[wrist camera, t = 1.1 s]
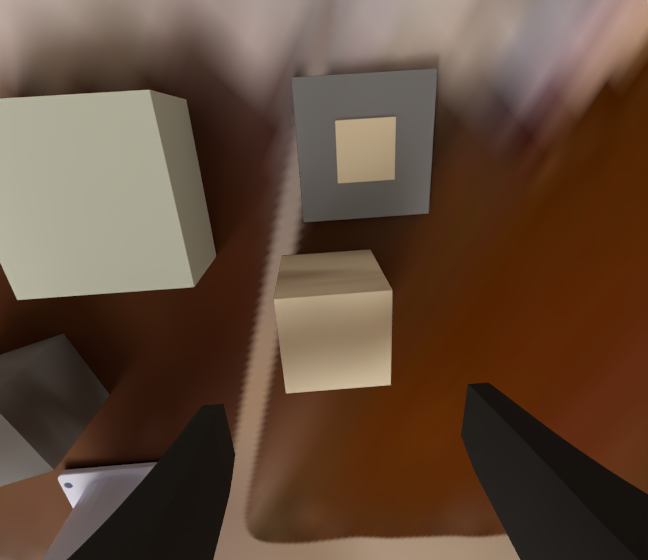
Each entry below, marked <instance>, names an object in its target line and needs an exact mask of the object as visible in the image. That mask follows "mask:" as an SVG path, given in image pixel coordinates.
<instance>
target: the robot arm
mask: <svg viewBox="0 0 648 560" xmlns="http://www.w3.org/2000/svg"><path fill="white" fill-rule="evenodd" d="M461 437H462V439H463V442H464V445H465V447H466V450H467V453H468V456H469V458H470V461H471V463H472V466H473V468H474V471H475V473H476V475H477V477H478V479H479V481H480V483H481V485H482V486H483V488H484V490H485V492H486V494H487V496H488V498H489V500H490V502H491V504H492V506H493V508H494V510H495V512H496V514H497V515H498V517H499V519H500V521H501V523H502V525H503V527H504V529H505V531H506V533H507V535H508V537H509V538H510V540H511V542H512V544H513V546H514V548H515V550H516V552H517V554H518V556H519V558H520V559H521V560H648V494H646V493H645V492H643V491H641V490H640V489H638V488H636V487H635V486H633V485H631V484H630V483H628V482H627V481H625V480H623V479H622V478H620V477H619V476H617V475H616V474H614V473H612V472H611V471H609V470H608V469H606V468H605V467H603V466H602V465H600V464H599V463H597V462H596V461H594V460H593V459H591V458H590V457H588V456H587V455H586V454H584V453H583V452H581V451H580V450H578V449H577V448H575V447H574V446H573V445H571V444H570V443H568V442H567V441H565V440H564V439H563V438H561V437H560V436H559V435H557V434H556V433H554V432H553V431H552V430H550V429H549V428H548V427H546V426H545V425H544V424H542V423H541V422H540V421H538V420H537V419H536V418H534V417H533V416H532V415H530V414H529V413H528V412H526V411H525V410H524V409H522V408H521V407H520V406H519V405H517V404H516V403H515V402H513V401H512V400H511V399H509V398H508V397H507V396H506V395H504V394H503V393H502V392H500V391H499V390H498V389H496V388H495V387H494V386H492V385H491V384H490V383H478V384H468V387H467V395H466V402H465V410H464V417H463V425H462V433H461ZM234 459H235V452H234V448H233V443H232V439H231V434H230V430H229V426H228V421H227V417H226V412H225V408H224V404H218V405H206V406H202V407H201V408H200V409H199V411H198V412H197V413H196V414H195V416H194V417H193V418H192V419H191V421H190V422H189V423H188V425H187V426H186V427H185V429H184V430H183V431H182V432H181V434H180V435H179V436H178V438H177V439H176V440H175V441H174V443H173V444H172V445H171V446H170V448H169V449H168V450H167V451H166V453H165V454H164V455H163V456H162V457H161V459H160V460H159V461H158V462H150V463H139V464H127V465H115V466H104V467H92V468H80V469H68V470H63V471H62V472H61V473H60V475H59V476H58V481H59V483H60V485H61V486H62V488H63V490H64V492H65V494H66V496H67V498H68V500H69V501H70V503H71V505H72V507H73V510H72V512H71V513H70V515H69V516H68V518H67V520H66V521H65V523H64V525H63V526H62V528H61V529H60V531H59V533H58V534H57V536H56V538H55V539H54V541H53V542H52V544H51V546H50V547H49V549H48V551H47V552H46V554H45V555H44V557H43V559H42V560H213V558H214V554H215V550H216V546H217V543H218V538H219V535H220V530H221V527H222V523H223V518H224V514H225V510H226V506H227V502H228V498H229V494H230V488H231V481H232V474H233V467H234Z"/></svg>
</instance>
